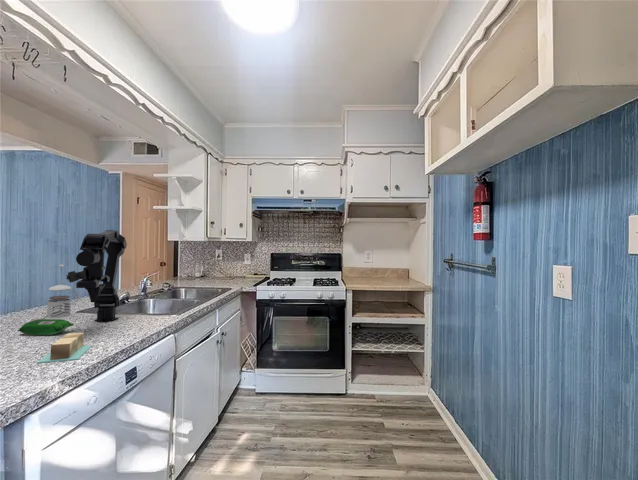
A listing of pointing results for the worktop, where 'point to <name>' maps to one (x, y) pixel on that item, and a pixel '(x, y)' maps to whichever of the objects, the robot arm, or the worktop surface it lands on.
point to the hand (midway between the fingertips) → (93, 302)
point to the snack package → (45, 327)
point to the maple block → (67, 346)
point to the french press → (60, 303)
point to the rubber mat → (73, 357)
